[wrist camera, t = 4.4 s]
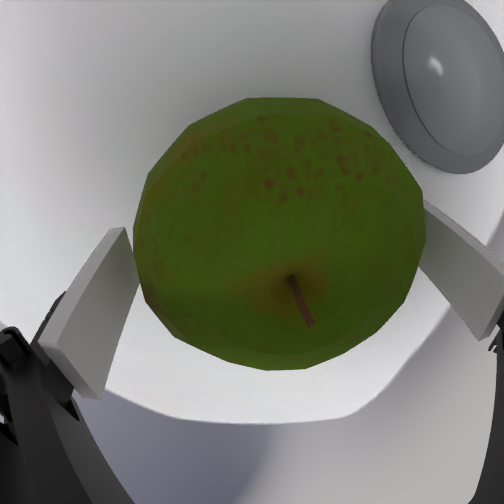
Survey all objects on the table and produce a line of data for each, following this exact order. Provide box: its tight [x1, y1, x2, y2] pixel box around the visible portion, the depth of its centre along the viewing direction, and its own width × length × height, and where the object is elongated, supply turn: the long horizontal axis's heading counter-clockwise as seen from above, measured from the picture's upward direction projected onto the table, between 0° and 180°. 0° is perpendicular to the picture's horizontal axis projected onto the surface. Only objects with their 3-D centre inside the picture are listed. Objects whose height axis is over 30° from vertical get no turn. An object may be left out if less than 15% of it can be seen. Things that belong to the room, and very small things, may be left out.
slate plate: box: [371, 0, 504, 174], centre depth 12 cm, size 14×14×2 cm
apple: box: [133, 98, 426, 371], centre depth 12 cm, size 11×11×11 cm
